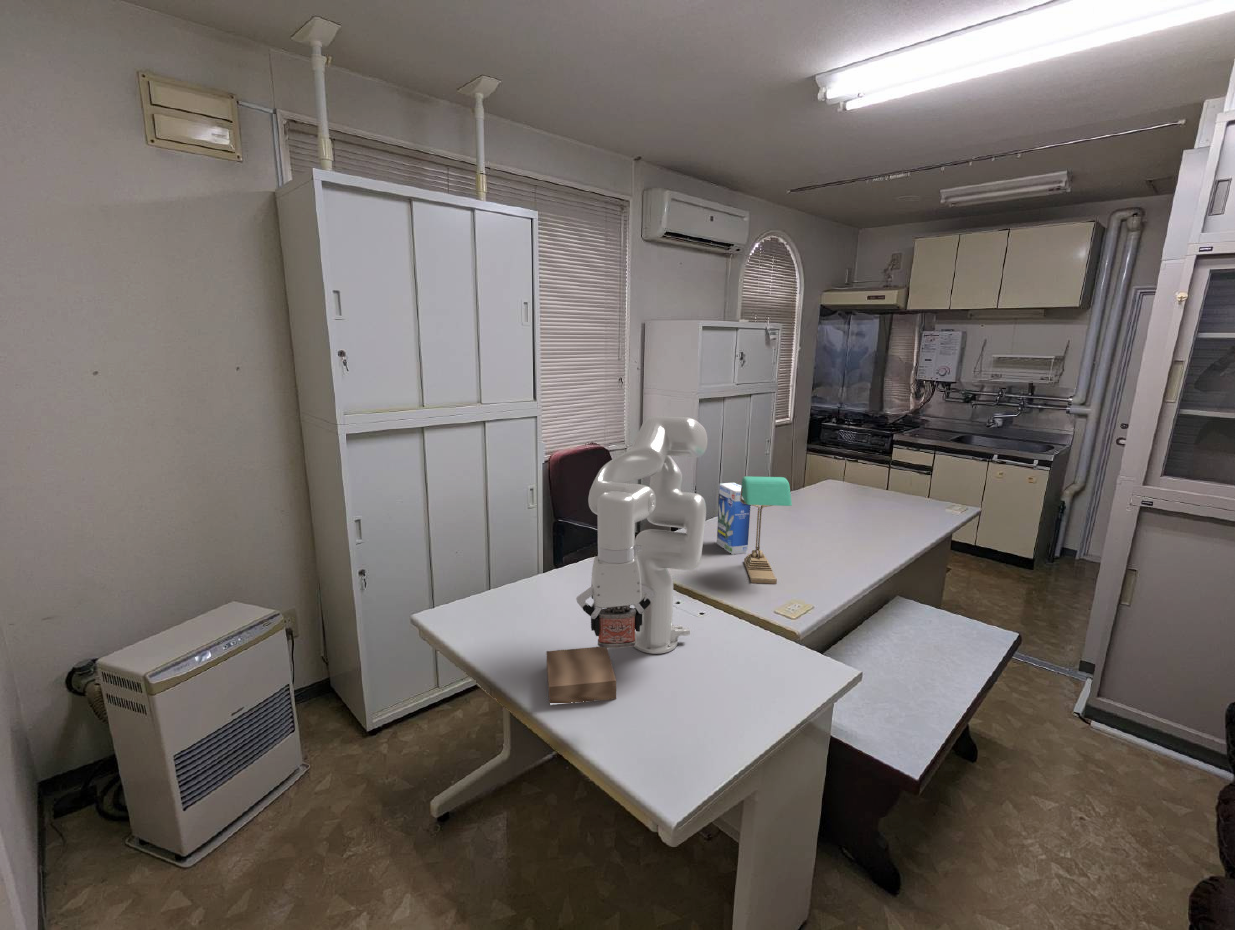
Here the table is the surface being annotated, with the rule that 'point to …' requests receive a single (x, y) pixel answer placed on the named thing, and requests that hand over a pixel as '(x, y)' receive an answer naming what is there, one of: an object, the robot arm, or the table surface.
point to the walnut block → (580, 675)
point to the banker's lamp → (756, 494)
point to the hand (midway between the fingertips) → (616, 630)
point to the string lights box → (732, 519)
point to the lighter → (617, 627)
